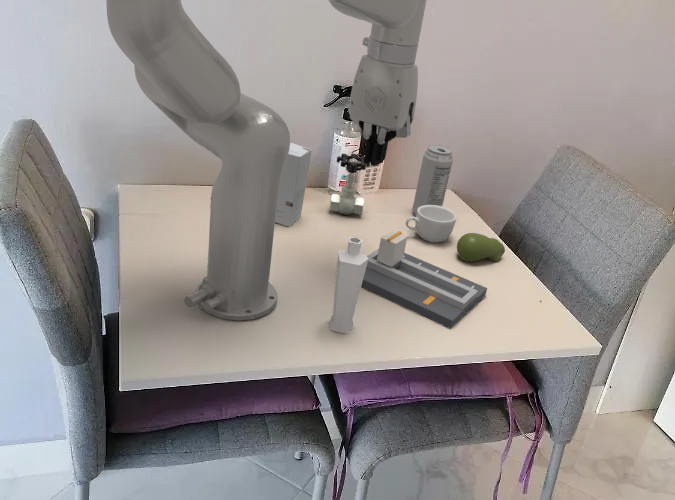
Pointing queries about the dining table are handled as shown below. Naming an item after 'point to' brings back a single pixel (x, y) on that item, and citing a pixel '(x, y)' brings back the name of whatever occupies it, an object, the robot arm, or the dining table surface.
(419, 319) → the dining table surface
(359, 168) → the valve
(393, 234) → the fader
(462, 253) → the pear
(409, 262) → the console
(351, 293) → the perfume bottle
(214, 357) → the dining table surface
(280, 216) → the skincare box
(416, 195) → the energy drink can
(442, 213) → the teacup
